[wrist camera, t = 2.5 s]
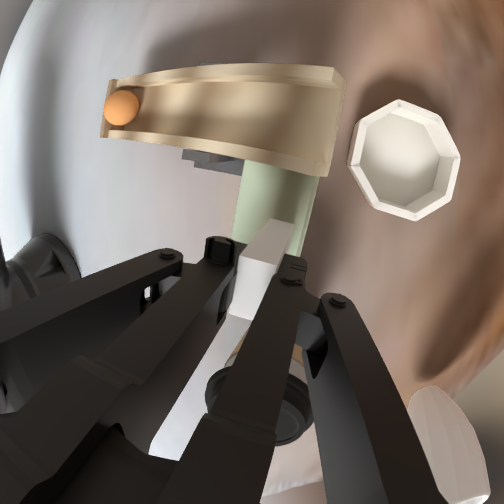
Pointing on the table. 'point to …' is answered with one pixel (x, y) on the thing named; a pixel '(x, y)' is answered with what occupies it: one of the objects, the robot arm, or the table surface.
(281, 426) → the coffee cup
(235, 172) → the fulcrum
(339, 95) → the lever
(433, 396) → the cup
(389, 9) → the table surface
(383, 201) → the bowl
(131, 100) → the ball
